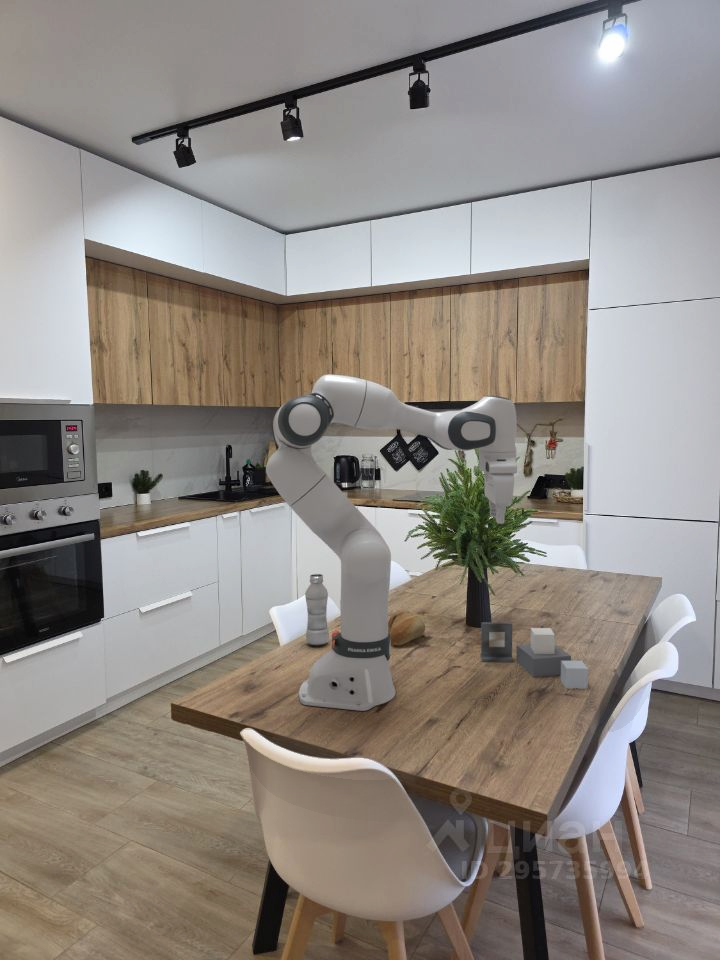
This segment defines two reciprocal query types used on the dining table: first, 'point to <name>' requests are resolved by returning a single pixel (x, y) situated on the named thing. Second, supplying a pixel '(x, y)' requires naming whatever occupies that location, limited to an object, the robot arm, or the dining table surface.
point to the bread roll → (405, 627)
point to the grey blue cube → (574, 674)
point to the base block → (541, 661)
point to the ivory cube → (542, 640)
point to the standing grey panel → (496, 642)
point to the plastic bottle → (317, 611)
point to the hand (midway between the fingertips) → (497, 520)
